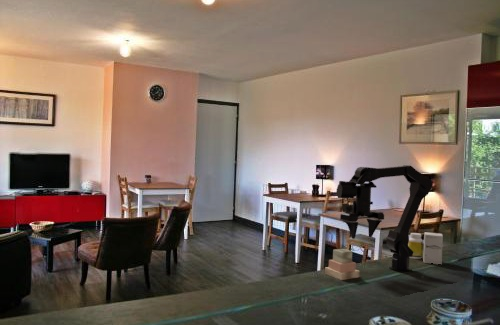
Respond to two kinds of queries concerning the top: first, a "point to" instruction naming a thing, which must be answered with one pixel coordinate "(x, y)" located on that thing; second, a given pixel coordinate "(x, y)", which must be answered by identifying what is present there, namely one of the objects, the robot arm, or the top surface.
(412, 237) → the pill bottle
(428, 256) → the supplement box
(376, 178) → the robot arm
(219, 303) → the top surface
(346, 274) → the birch block
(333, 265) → the terracotta block
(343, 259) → the sage block
